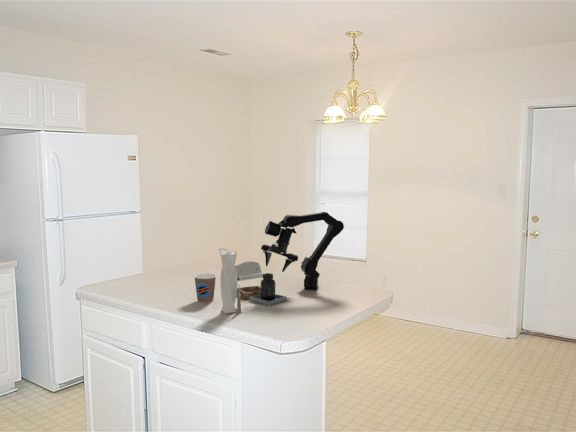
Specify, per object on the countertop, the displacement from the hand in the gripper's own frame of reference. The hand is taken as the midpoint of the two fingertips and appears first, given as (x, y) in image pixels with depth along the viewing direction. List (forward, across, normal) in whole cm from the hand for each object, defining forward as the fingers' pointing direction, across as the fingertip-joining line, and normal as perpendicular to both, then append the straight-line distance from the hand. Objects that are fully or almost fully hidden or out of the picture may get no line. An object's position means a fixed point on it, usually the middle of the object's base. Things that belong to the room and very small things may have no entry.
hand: (274, 269), depth 255 cm
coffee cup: (+22, -17, -27) cm, 39 cm away
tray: (+13, +8, -17) cm, 23 cm away
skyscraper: (+20, +1, -38) cm, 43 cm away
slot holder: (+15, -3, -10) cm, 18 cm away
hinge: (+13, -23, +26) cm, 37 cm away
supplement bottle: (+13, +8, -17) cm, 22 cm away
